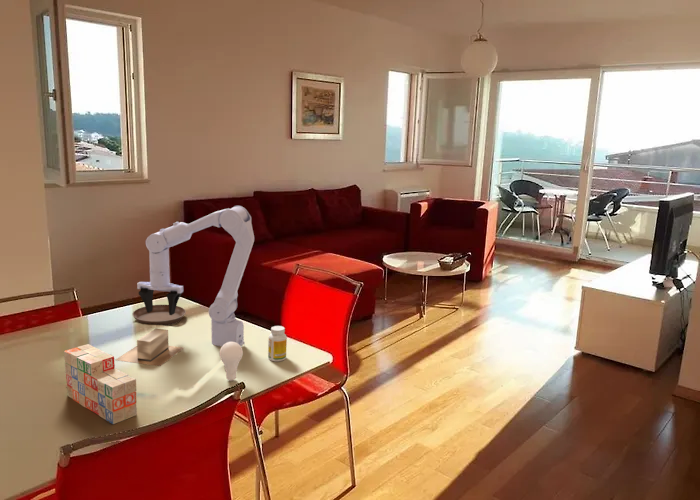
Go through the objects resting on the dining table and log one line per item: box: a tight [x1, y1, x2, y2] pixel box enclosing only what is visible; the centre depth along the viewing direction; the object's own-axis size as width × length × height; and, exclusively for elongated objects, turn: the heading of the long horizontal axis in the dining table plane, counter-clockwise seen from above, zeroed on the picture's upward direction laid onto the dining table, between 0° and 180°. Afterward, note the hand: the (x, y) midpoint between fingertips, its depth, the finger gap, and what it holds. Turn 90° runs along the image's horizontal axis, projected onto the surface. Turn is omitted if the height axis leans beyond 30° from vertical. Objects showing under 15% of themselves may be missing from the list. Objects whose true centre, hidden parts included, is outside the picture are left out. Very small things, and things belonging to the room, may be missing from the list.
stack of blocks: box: [63, 343, 138, 425], centre depth 135 cm, size 21×6×12 cm, turn 53°
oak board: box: [115, 345, 185, 367], centre depth 164 cm, size 14×14×2 cm
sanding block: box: [136, 328, 170, 362], centre depth 162 cm, size 4×10×6 cm, turn 169°
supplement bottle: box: [267, 325, 288, 362], centre depth 167 cm, size 5×5×10 cm
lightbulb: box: [219, 342, 244, 382], centre depth 151 cm, size 6×6×11 cm
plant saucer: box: [132, 304, 187, 327], centre depth 196 cm, size 18×18×3 cm
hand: (160, 312), depth 175 cm, fingers open, 7 cm apart
